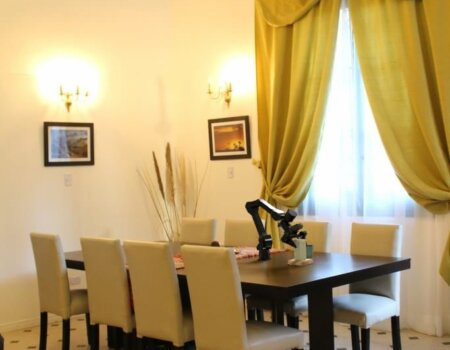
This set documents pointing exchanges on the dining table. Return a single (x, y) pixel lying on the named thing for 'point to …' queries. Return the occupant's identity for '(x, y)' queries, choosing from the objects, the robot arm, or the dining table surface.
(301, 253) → the tea tin
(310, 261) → the tan square coaster
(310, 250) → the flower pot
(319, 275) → the dining table surface
